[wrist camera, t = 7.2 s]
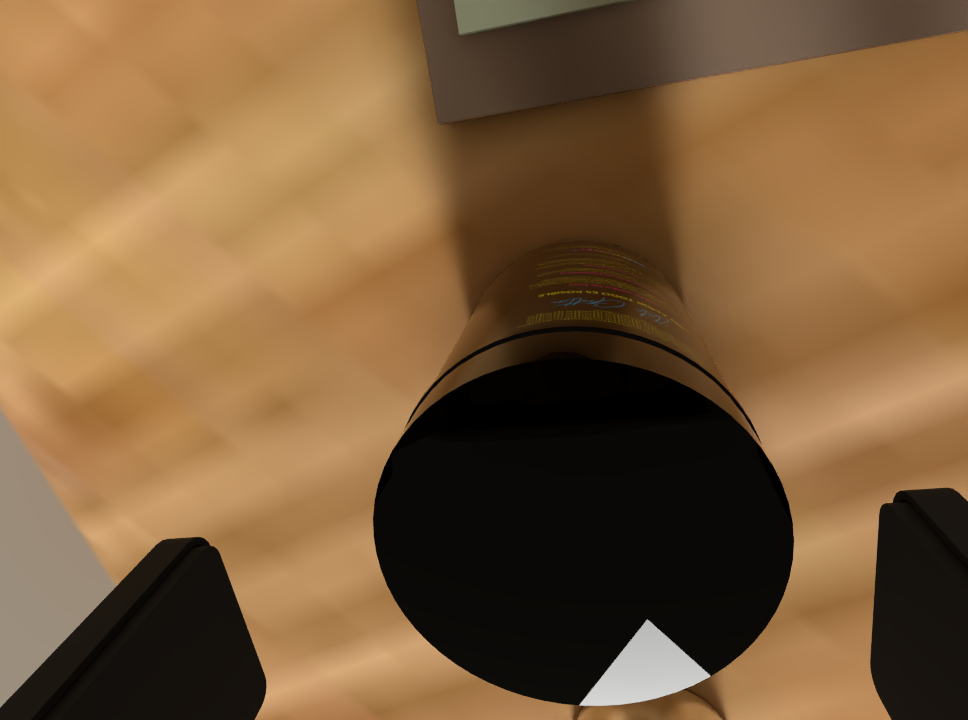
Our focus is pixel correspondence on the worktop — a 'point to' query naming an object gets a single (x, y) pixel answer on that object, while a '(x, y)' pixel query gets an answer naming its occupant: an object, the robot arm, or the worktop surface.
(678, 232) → the worktop surface
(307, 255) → the worktop surface
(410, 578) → the supplement container
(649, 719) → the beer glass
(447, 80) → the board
